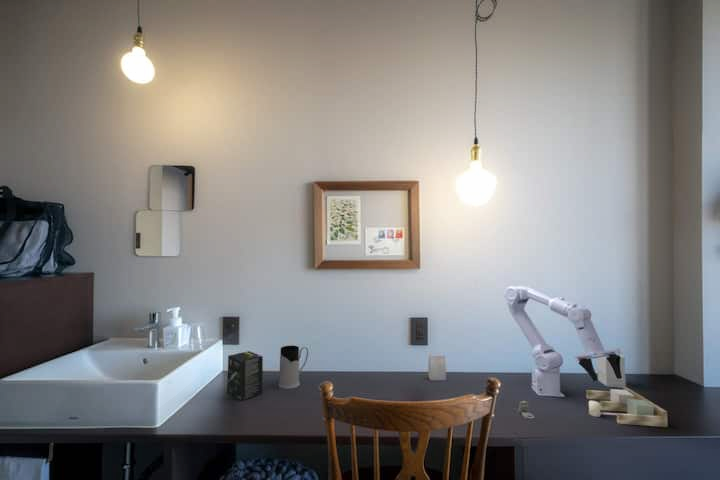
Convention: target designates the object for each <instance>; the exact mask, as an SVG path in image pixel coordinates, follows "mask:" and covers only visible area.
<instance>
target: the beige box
mask: <svg viewBox="0 0 720 480" xmlns="http://www.w3.org/2000/svg"><path fill="white" fill-rule="evenodd" d="M445 356H446V355H435V354H434V355H431V354H429V356H428V371H427V372H428V373H427V375H428V377H427V378H428V379H429V381H446V380H447V373H446V372H447V371H446V370H447V367H446V366H447V365H446V357H445Z"/></svg>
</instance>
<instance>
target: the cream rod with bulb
mask: <svg viewBox="0 0 720 480" xmlns="http://www.w3.org/2000/svg"><path fill="white" fill-rule="evenodd" d="M626 414H637V415H652V416H654V406H652V405H650V404H649V403H647V402H646V401H644V400H635V399H627V412H626ZM588 415H590V416H592V417H595V418H600V417H601V415H606V416H607V415H609V416H617V412H616V413H612V412H601V409H600V401H596V400H589V401H588Z"/></svg>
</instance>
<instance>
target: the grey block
mask: <svg viewBox="0 0 720 480" xmlns="http://www.w3.org/2000/svg"><path fill="white" fill-rule="evenodd" d="M609 390H610V391H611V400H610V401H614V402H627V399H634V395H633V394H631V393H629V392H628V391H626V390H623V389H613V388H610V389H609Z"/></svg>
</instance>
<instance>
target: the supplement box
mask: <svg viewBox="0 0 720 480" xmlns="http://www.w3.org/2000/svg"><path fill="white" fill-rule="evenodd" d="M605 355H606V354H605ZM596 356H602V354H599V355H596ZM607 357H609V356H606V357H599V358H596V359H597V360H596V361H597V362H596V363H597V378H598V380H597V382H599V383H601V384H603V386H605V387H608V388H621V389H623V387H627V384H626V364H625V363H626V361H625V356H624V355H622V354H620V357H621V358H620V371H621V376H622V378H620V379H617V377H616V375H615V373H614V371H613V368H612V367H611V365H610V363H609V362H608V360H607V359H606V358H607Z"/></svg>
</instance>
